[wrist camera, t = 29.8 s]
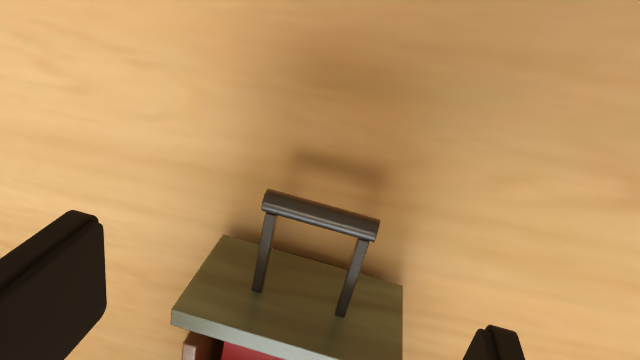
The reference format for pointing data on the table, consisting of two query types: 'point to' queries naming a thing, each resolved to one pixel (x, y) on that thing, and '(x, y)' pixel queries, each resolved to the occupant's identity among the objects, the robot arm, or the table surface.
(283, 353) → the drawer
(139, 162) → the table surface
